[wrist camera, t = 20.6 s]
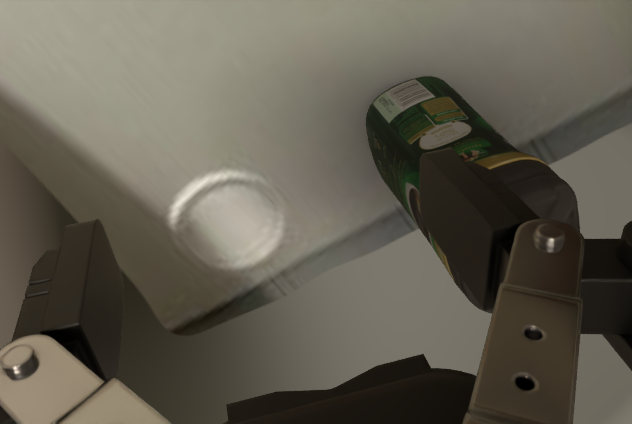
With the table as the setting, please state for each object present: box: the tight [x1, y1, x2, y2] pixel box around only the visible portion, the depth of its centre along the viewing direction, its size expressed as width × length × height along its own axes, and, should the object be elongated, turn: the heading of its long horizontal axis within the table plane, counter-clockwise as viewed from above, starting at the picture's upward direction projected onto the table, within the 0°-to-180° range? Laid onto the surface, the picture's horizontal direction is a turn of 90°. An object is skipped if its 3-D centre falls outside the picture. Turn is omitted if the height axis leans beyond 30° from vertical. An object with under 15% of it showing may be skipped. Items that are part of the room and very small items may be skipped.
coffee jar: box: [366, 77, 580, 314], centre depth 39 cm, size 10×8×19 cm
